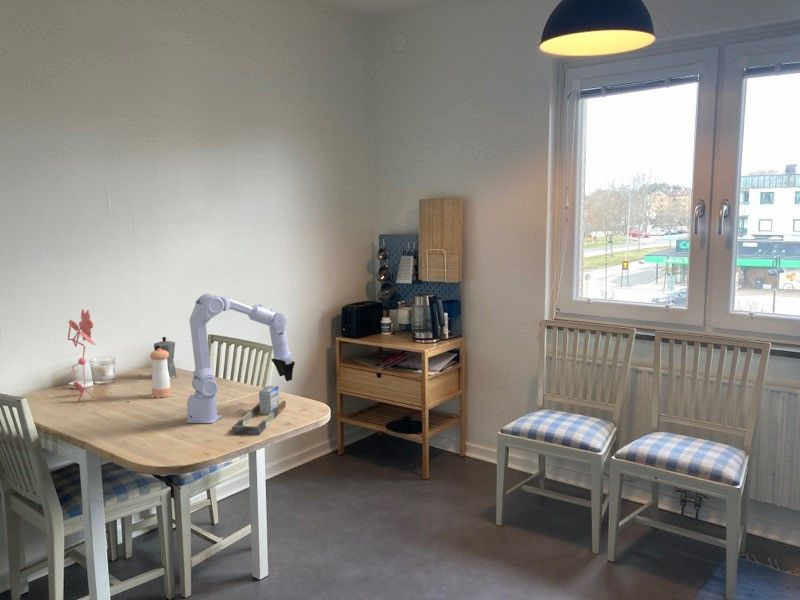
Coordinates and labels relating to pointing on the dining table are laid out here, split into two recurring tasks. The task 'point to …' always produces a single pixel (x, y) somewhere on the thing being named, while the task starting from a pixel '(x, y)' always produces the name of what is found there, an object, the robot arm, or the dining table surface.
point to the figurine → (86, 333)
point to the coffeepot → (169, 347)
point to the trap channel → (253, 430)
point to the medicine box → (268, 399)
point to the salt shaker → (160, 374)
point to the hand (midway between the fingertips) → (285, 377)
